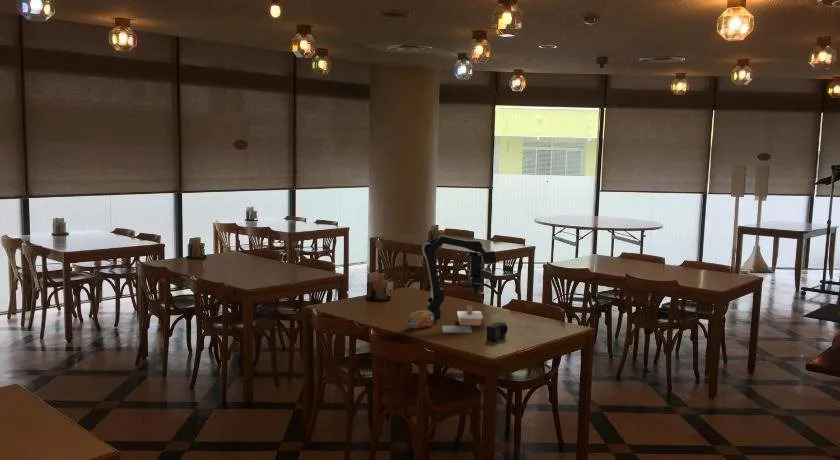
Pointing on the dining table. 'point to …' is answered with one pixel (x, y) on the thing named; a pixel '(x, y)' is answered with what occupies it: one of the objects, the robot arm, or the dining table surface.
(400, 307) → the dining table surface
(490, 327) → the digital camera
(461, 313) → the lid
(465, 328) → the mat
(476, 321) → the dish
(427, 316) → the tin
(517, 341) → the dining table surface
